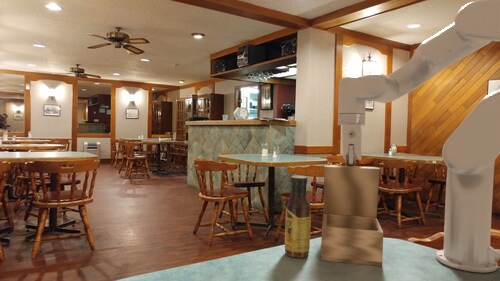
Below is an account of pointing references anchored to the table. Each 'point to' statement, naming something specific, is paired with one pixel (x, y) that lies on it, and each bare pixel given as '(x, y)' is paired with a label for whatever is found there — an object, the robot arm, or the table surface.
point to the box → (352, 239)
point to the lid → (351, 190)
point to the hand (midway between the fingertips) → (349, 183)
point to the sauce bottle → (297, 219)
